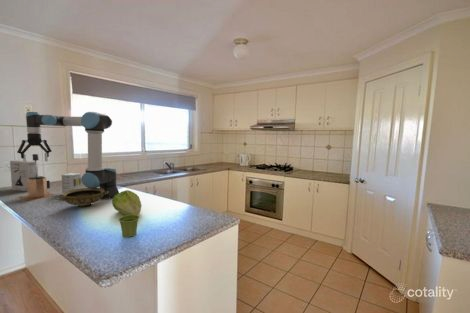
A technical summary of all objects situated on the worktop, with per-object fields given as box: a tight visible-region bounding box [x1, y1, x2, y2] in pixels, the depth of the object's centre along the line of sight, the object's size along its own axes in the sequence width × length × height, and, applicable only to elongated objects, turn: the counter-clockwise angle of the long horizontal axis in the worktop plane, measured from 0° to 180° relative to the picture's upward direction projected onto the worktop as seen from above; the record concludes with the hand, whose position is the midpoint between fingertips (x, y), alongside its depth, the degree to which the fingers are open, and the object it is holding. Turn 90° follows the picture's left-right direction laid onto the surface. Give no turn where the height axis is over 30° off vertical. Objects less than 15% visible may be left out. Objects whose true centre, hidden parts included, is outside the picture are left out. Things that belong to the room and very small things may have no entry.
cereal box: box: [9, 159, 39, 192], centre depth 192 cm, size 22×8×25 cm, turn 73°
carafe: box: [27, 175, 51, 198], centre depth 170 cm, size 10×13×15 cm
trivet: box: [17, 191, 58, 202], centre depth 170 cm, size 18×18×1 cm
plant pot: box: [118, 214, 140, 238], centre depth 110 cm, size 9×9×9 cm
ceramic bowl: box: [56, 187, 109, 208], centre depth 153 cm, size 30×24×10 cm
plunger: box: [32, 153, 39, 177], centre depth 168 cm, size 7×7×24 cm
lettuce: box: [111, 189, 142, 216], centre depth 140 cm, size 14×24×15 cm
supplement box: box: [61, 172, 82, 194], centre depth 181 cm, size 10×9×17 cm
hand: (35, 162), depth 167 cm, fingers open, 12 cm apart
